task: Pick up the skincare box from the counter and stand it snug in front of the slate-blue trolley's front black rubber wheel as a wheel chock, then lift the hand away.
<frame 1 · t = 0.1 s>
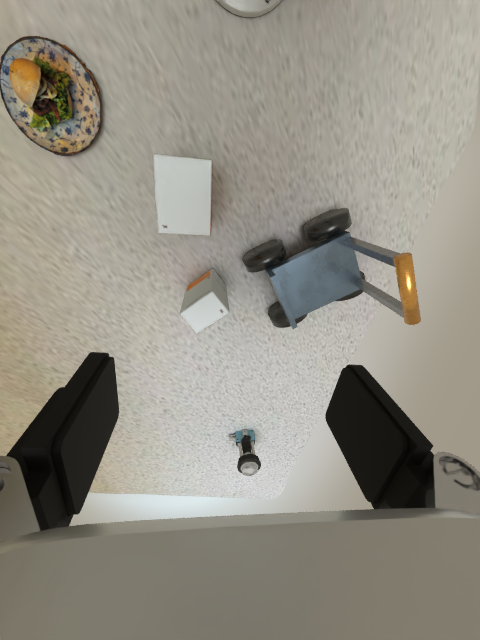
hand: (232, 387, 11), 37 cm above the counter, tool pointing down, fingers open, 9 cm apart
skincare box: (206, 285, 47), on the counter
burger: (59, 103, 34), on the counter
push button: (241, 432, 66), on the counter
small box: (191, 196, 41), on the counter
trolley: (299, 265, 47), on the counter
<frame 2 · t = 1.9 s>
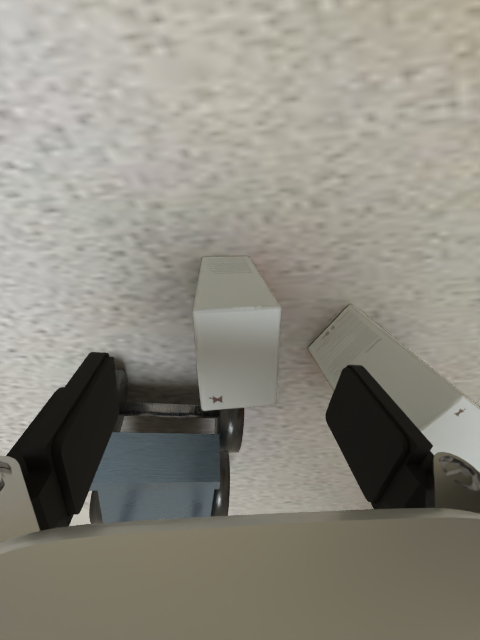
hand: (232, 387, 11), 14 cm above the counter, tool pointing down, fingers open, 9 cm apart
skincare box: (226, 286, 24), on the counter
small box: (351, 343, 28), on the counter
trolley: (172, 423, 30), on the counter
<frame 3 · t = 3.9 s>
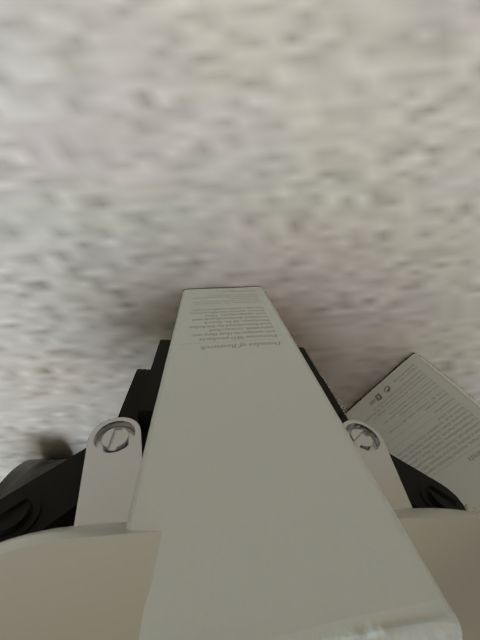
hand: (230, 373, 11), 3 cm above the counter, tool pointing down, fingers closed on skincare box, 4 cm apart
skincare box: (225, 333, 15), on the counter, touching gripper
small box: (407, 404, 19), on the counter
trolley: (148, 511, 21), on the counter
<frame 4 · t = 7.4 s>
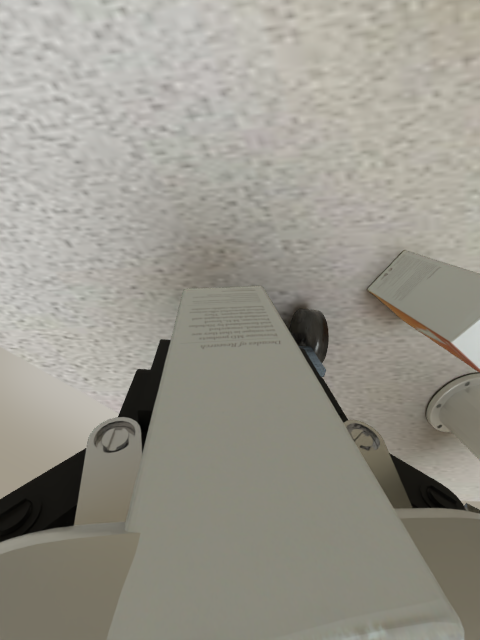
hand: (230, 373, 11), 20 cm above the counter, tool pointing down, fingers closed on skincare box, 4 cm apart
skincare box: (225, 332, 15), point 17 cm above the counter, touching gripper
small box: (401, 286, 34), on the counter
trolley: (249, 357, 36), on the counter
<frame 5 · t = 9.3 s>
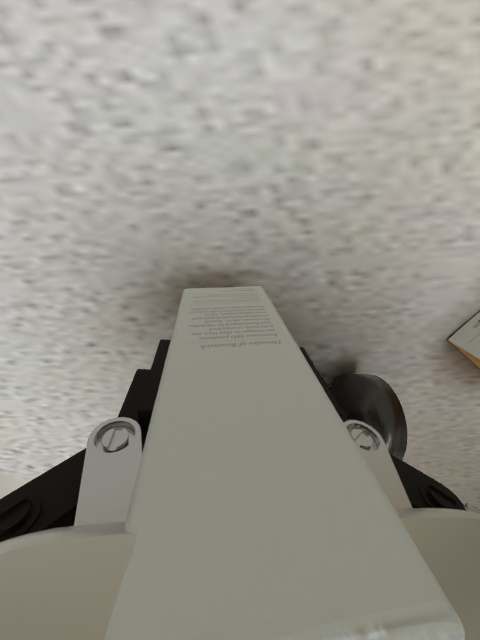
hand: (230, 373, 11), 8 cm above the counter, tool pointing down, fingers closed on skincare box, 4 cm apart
skincare box: (225, 332, 15), point 4 cm above the counter, touching gripper
trolley: (268, 431, 25), on the counter
when the fingers open (5 cm above the counter, at t = 10.8 s): skincare box drops 1 cm, on the counter.
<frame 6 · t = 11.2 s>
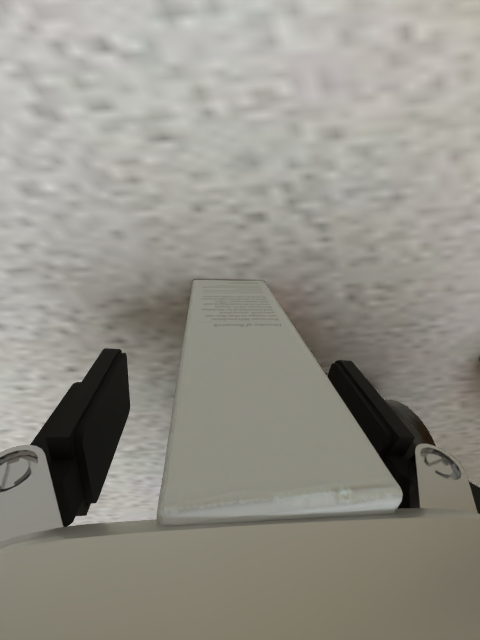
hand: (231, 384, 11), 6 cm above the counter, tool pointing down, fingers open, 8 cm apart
skincare box: (228, 322, 16), on the counter
trolley: (274, 459, 22), on the counter
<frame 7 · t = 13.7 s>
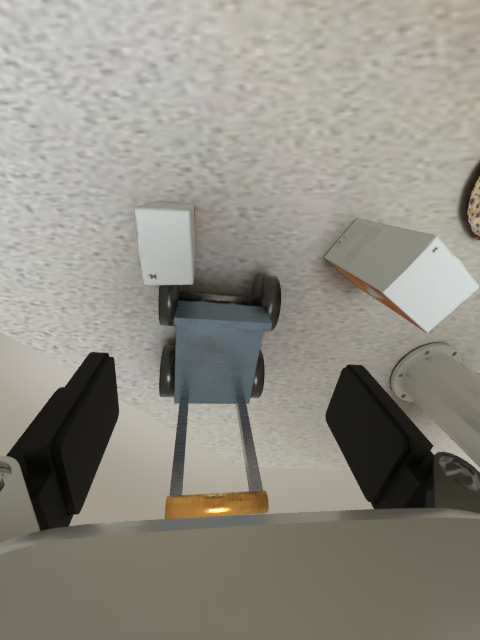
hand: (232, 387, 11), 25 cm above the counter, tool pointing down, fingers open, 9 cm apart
skincare box: (178, 228, 31), on the counter
small box: (357, 255, 35), on the counter
trolley: (214, 325, 37), on the counter
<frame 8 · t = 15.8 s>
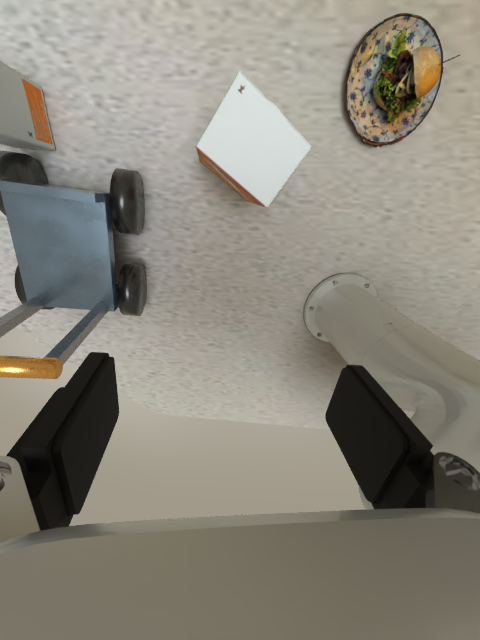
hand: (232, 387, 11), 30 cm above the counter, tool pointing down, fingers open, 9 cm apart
skincare box: (31, 118, 29), on the counter
burger: (384, 90, 32), on the counter
small box: (238, 161, 33), on the counter
trolley: (94, 239, 35), on the counter
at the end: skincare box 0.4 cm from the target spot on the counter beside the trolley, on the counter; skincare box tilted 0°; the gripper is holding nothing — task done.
